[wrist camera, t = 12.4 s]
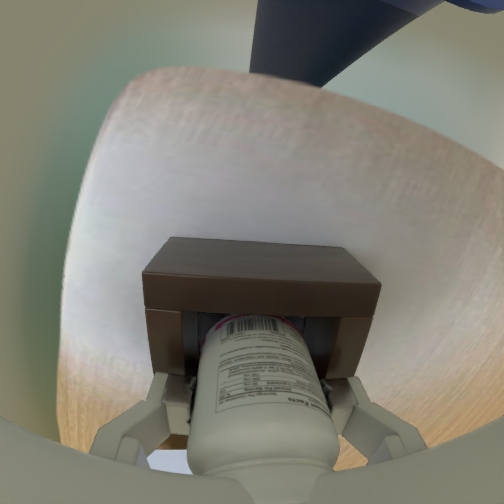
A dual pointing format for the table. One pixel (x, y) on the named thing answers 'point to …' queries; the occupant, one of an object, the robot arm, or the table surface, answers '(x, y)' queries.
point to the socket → (258, 298)
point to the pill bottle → (260, 410)
